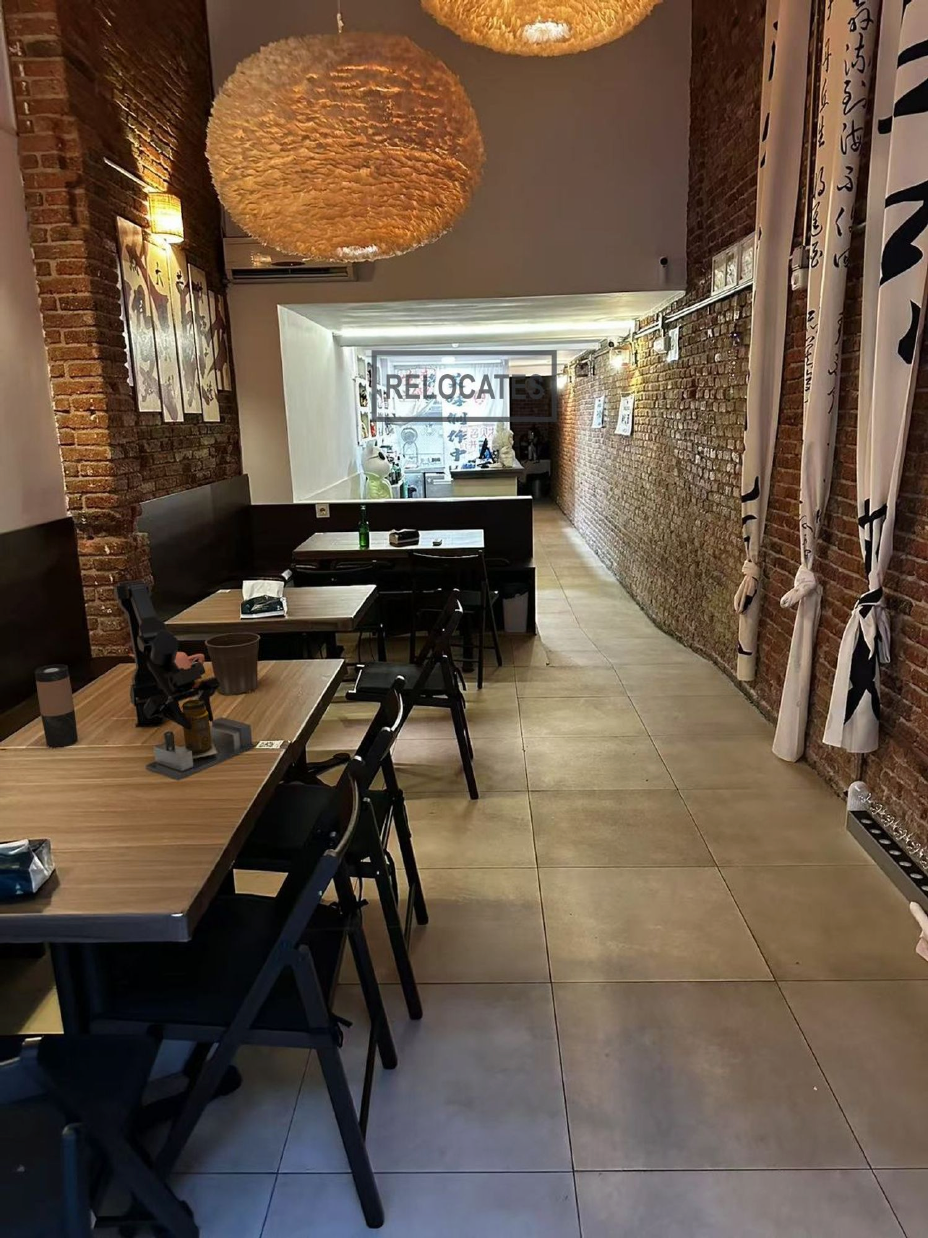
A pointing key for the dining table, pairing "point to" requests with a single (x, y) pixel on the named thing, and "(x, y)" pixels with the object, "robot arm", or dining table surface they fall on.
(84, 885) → the dining table surface
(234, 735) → the vise
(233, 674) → the plant pot
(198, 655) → the teapot
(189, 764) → the sliding jaw
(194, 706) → the condiment
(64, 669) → the travel mug
